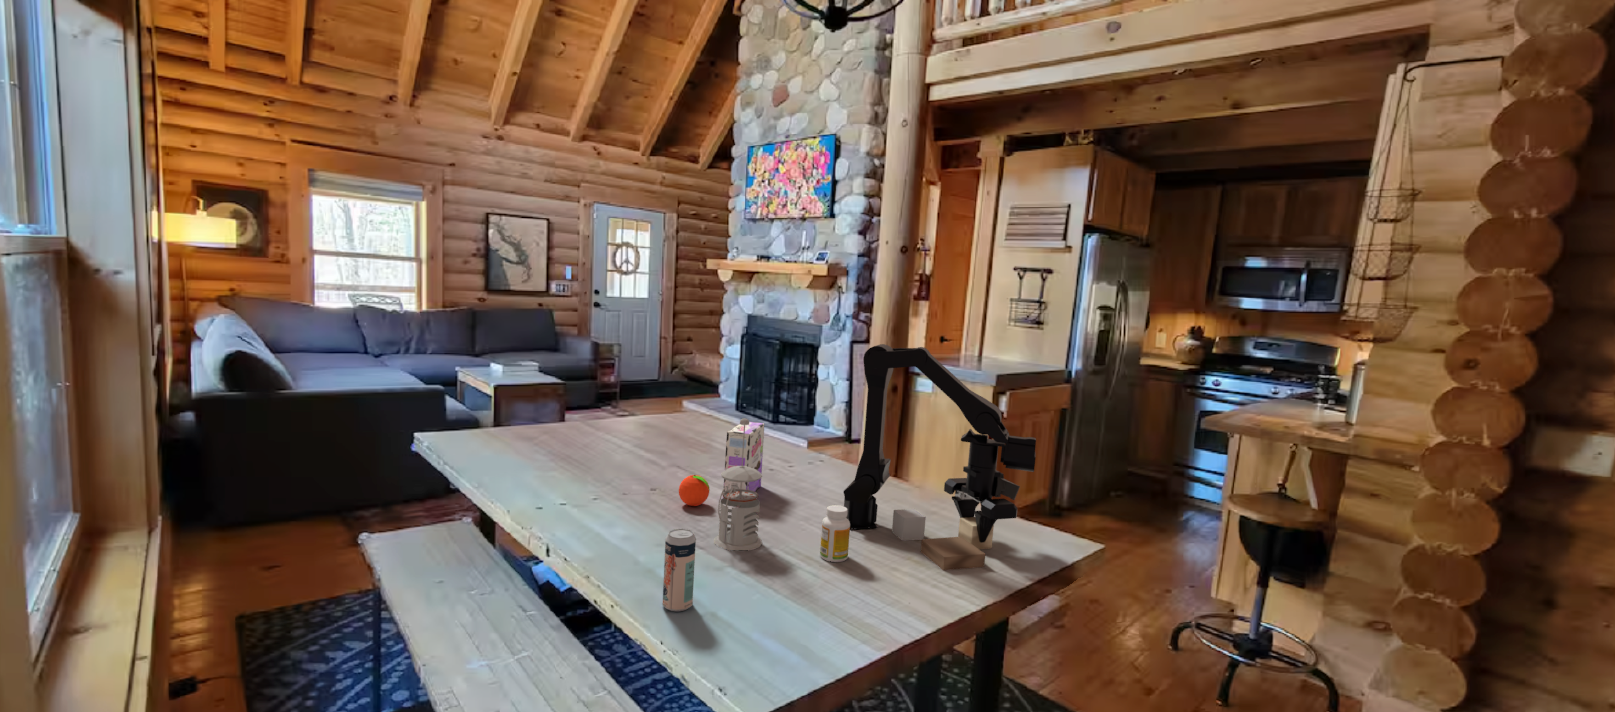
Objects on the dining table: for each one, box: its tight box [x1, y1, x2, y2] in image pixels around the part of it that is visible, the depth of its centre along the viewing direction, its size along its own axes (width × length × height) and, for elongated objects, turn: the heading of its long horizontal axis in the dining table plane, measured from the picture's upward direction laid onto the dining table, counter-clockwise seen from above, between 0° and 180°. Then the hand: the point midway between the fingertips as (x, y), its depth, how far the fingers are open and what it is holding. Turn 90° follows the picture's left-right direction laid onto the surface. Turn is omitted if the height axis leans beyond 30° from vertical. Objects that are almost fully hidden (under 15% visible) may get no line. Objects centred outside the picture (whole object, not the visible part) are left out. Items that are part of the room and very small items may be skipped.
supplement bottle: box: [819, 504, 851, 563], centre depth 133 cm, size 5×5×10 cm
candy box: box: [722, 421, 765, 499], centre depth 169 cm, size 14×6×16 cm, turn 168°
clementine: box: [678, 474, 711, 507], centre depth 157 cm, size 8×7×7 cm
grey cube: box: [891, 508, 927, 542], centre depth 148 cm, size 5×5×5 cm
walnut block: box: [920, 536, 986, 571], centre depth 137 cm, size 9×9×3 cm
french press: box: [713, 418, 763, 551], centre depth 136 cm, size 10×12×25 cm
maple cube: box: [957, 516, 995, 550], centre depth 145 cm, size 5×5×5 cm
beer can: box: [662, 528, 697, 613], centre depth 110 cm, size 5×5×12 cm
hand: (975, 537), depth 145 cm, fingers closed on maple cube, 5 cm apart
